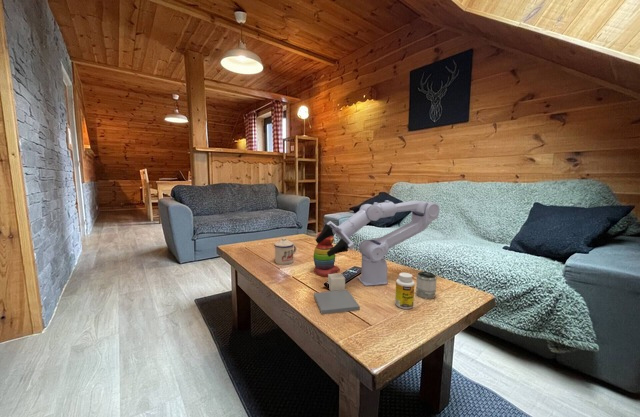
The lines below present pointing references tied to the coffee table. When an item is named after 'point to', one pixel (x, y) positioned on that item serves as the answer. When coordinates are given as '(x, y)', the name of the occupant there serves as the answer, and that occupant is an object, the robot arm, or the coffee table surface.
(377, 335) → the coffee table surface
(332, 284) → the block
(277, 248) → the teacup with lid
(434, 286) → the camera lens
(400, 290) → the supplement bottle
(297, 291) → the coffee table surface
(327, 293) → the plate
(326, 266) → the stacking bear
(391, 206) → the robot arm
